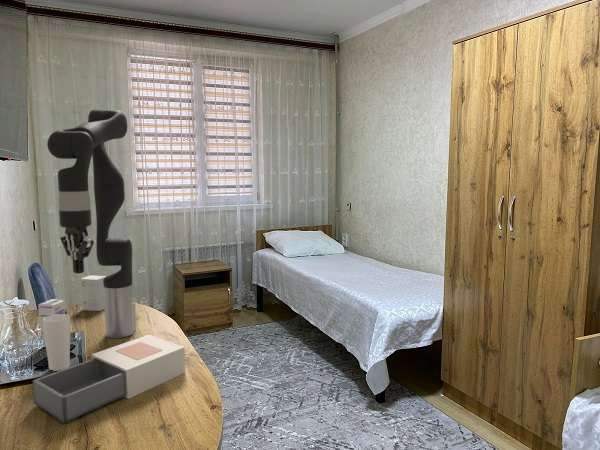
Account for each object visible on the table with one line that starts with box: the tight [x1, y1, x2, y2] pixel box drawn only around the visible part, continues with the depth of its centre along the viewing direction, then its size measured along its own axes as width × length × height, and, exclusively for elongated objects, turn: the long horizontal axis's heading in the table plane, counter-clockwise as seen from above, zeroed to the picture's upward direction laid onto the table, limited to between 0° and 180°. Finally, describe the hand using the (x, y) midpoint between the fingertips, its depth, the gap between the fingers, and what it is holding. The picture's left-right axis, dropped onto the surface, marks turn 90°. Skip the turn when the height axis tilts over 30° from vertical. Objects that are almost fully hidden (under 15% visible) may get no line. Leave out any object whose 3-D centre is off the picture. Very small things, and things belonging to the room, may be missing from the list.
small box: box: [80, 274, 107, 312], centre depth 183 cm, size 8×6×13 cm
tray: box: [32, 358, 127, 424], centre depth 112 cm, size 18×14×6 cm
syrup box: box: [37, 298, 68, 347], centre depth 145 cm, size 6×6×14 cm
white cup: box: [43, 313, 71, 372], centre depth 129 cm, size 7×7×15 cm
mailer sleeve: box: [91, 334, 186, 399], centre depth 124 cm, size 18×16×8 cm
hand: (78, 272), depth 122 cm, fingers closed
